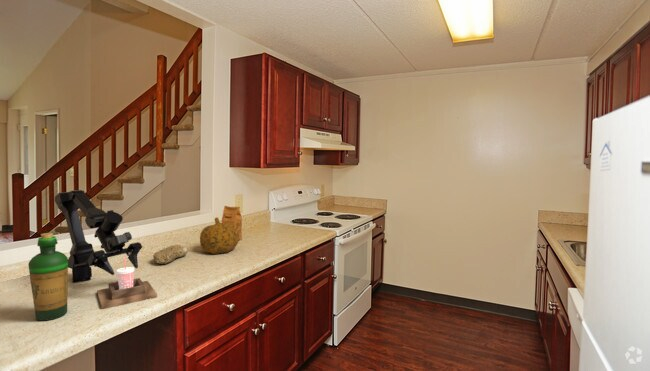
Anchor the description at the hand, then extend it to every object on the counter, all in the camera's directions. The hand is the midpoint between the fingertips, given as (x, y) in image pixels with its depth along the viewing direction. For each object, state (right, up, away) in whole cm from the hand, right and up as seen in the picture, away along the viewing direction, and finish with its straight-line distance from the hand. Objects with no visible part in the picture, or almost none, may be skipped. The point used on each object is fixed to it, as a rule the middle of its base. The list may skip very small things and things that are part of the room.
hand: (125, 270), depth 137 cm
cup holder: (0, -10, +1) cm, 10 cm away
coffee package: (+17, -2, +91) cm, 93 cm away
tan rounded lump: (-3, -6, +47) cm, 47 cm away
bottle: (-15, -11, -17) cm, 25 cm away
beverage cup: (0, -9, +1) cm, 9 cm away
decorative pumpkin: (+17, -5, +64) cm, 66 cm away
